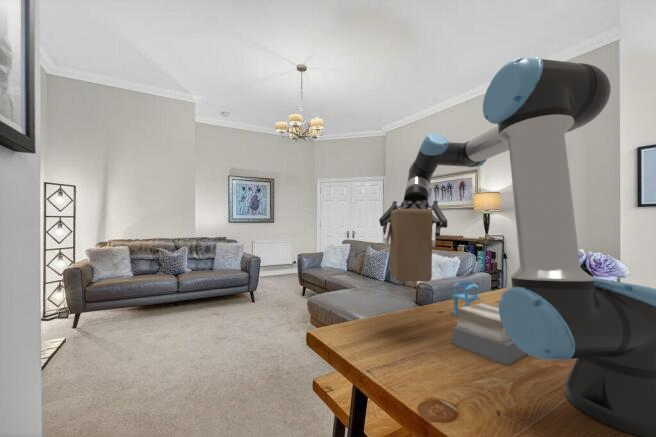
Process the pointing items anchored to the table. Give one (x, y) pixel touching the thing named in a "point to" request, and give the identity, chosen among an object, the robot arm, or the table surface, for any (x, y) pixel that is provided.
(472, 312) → the tower top
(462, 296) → the chair
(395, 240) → the block
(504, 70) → the robot arm
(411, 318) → the table surface
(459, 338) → the tower base
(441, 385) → the table surface
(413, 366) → the table surface
